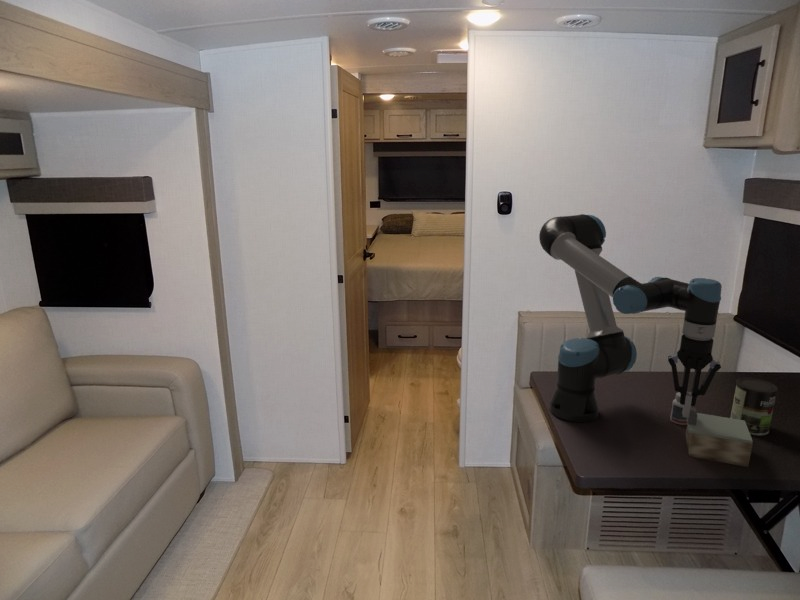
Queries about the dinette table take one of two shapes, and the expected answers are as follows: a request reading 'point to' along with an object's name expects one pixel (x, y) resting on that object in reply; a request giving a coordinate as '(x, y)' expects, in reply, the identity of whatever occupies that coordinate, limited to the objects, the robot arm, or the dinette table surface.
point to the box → (718, 449)
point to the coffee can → (754, 404)
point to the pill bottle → (677, 411)
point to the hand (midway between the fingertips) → (685, 415)
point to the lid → (718, 426)
